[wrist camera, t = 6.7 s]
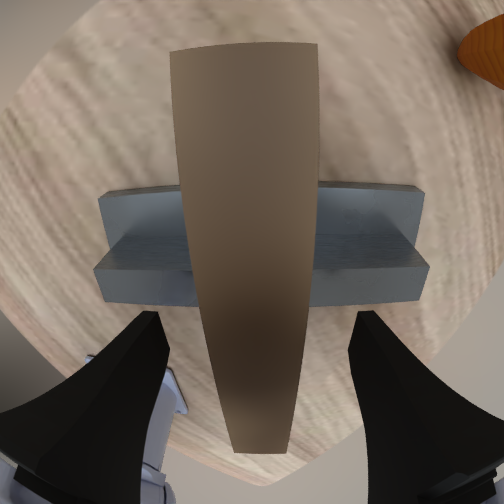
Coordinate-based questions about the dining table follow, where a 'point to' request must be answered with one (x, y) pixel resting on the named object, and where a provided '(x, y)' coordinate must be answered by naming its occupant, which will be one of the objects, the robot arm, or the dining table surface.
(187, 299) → the stand
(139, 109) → the dining table surface
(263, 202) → the walnut rod
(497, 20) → the carrot
